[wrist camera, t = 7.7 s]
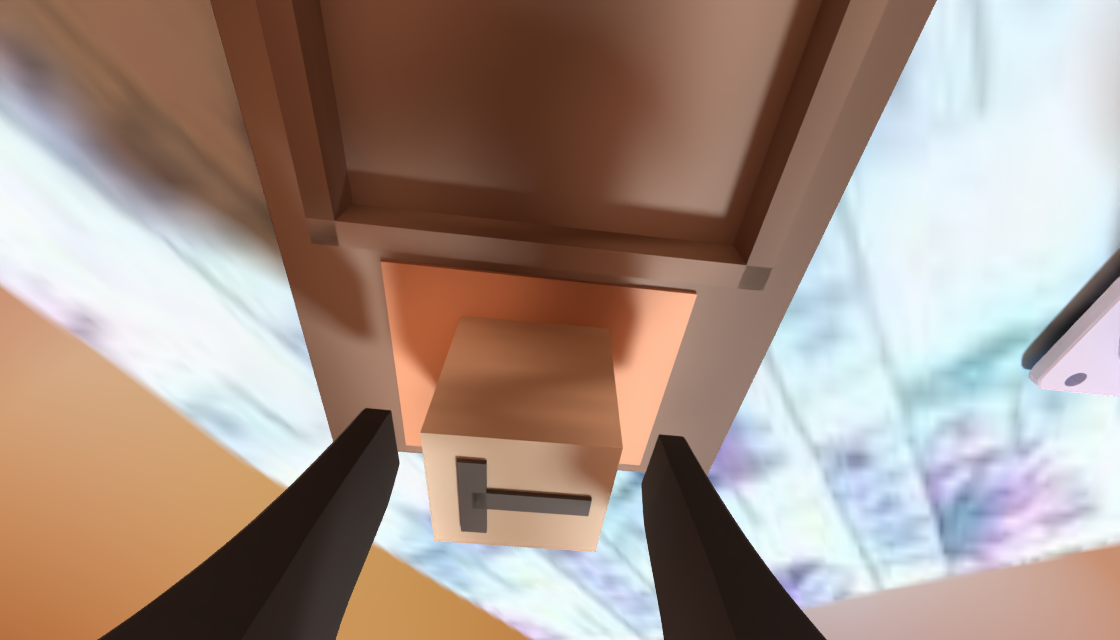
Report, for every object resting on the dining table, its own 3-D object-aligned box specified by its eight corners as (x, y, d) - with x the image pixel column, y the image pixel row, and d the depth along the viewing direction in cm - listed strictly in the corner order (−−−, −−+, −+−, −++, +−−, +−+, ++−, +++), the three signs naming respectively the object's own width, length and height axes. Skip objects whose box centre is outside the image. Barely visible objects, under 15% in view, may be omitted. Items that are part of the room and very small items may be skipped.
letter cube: (609, 328, 12) (623, 452, 9) (590, 428, 15) (595, 555, 11) (461, 315, 12) (418, 436, 9) (465, 418, 14) (433, 545, 11)
